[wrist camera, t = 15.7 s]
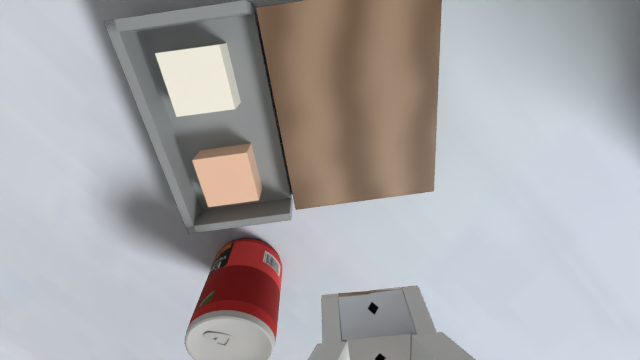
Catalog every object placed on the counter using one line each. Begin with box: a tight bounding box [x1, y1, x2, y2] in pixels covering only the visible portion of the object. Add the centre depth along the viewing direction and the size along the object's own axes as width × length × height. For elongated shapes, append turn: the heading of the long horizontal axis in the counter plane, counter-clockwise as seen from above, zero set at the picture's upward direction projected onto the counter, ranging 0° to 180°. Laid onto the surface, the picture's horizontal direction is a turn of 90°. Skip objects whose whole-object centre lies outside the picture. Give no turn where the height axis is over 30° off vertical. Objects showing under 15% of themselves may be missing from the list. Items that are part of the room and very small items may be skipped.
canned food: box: [185, 238, 282, 360], centre depth 32 cm, size 8×8×11 cm
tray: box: [104, 0, 293, 234], centre depth 28 cm, size 10×19×4 cm, turn 7°
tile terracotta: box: [192, 143, 262, 207], centre depth 30 cm, size 5×5×2 cm
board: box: [256, 0, 442, 210], centre depth 28 cm, size 14×18×2 cm
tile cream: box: [155, 43, 241, 117], centre depth 26 cm, size 5×5×2 cm
